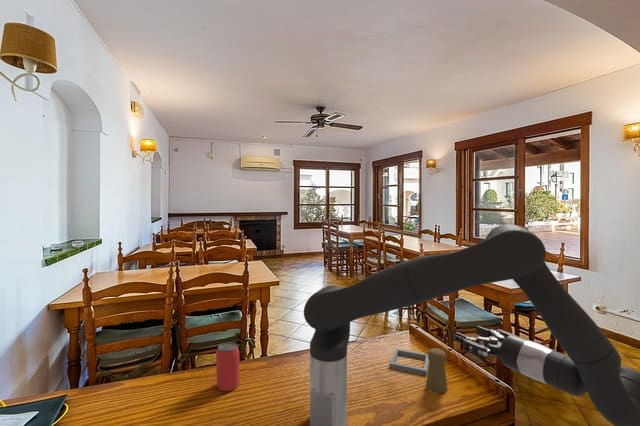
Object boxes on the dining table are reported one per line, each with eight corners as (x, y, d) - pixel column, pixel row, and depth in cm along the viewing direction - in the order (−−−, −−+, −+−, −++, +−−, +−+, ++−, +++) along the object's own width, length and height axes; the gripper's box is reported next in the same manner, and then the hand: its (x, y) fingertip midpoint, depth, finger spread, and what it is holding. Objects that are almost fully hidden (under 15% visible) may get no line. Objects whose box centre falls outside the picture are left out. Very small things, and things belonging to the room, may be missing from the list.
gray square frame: (426, 375, 98) (426, 370, 98) (389, 367, 103) (389, 363, 103) (429, 358, 109) (429, 354, 109) (395, 352, 114) (396, 348, 113)
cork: (449, 394, 89) (450, 356, 88) (427, 391, 90) (427, 354, 90) (445, 382, 95) (445, 346, 94) (424, 380, 96) (425, 344, 96)
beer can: (211, 388, 92) (211, 348, 91) (227, 377, 97) (227, 339, 97) (228, 395, 89) (228, 353, 88) (244, 383, 94) (243, 344, 94)
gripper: (547, 335, 73) (483, 314, 87) (509, 348, 67) (447, 323, 81) (546, 366, 73) (483, 340, 88) (509, 383, 67) (447, 352, 81)
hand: (466, 332), depth 84 cm, fingers open, 8 cm apart
